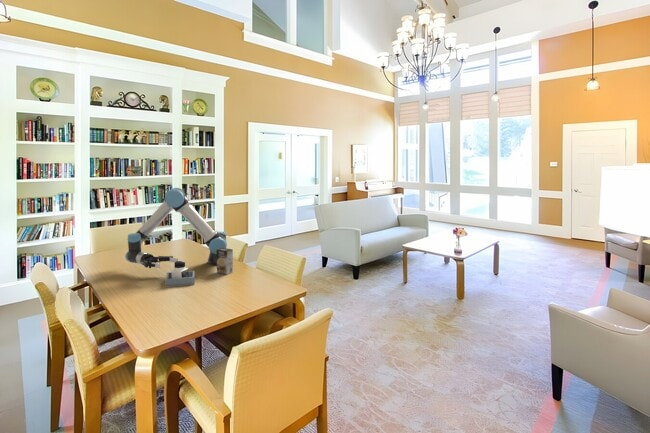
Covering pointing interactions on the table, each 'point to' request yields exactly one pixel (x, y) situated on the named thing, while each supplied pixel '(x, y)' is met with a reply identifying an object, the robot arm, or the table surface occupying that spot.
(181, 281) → the tote
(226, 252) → the coffee box
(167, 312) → the table surface
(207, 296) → the table surface
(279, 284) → the table surface
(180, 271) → the medicine bottle
